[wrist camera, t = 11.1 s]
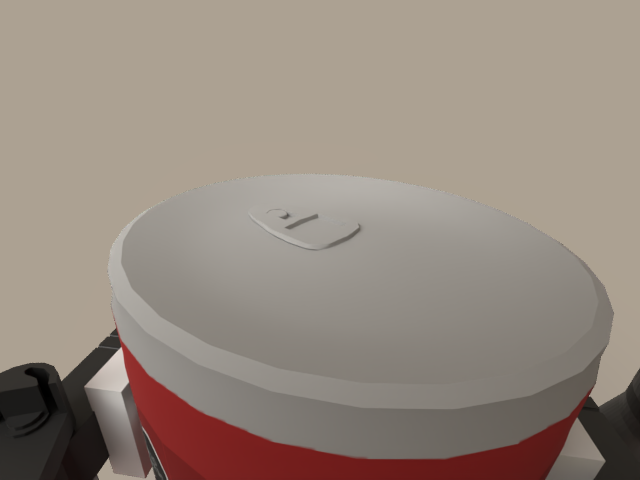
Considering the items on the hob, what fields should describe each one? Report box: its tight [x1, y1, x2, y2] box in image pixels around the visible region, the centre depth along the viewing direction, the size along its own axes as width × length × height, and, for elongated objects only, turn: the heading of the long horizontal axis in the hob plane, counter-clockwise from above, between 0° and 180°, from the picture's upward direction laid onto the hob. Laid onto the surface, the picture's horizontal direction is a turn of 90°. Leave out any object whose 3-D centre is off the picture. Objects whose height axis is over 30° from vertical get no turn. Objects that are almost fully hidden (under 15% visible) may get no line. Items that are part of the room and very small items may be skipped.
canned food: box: [107, 174, 614, 480], centre depth 8 cm, size 8×8×11 cm
